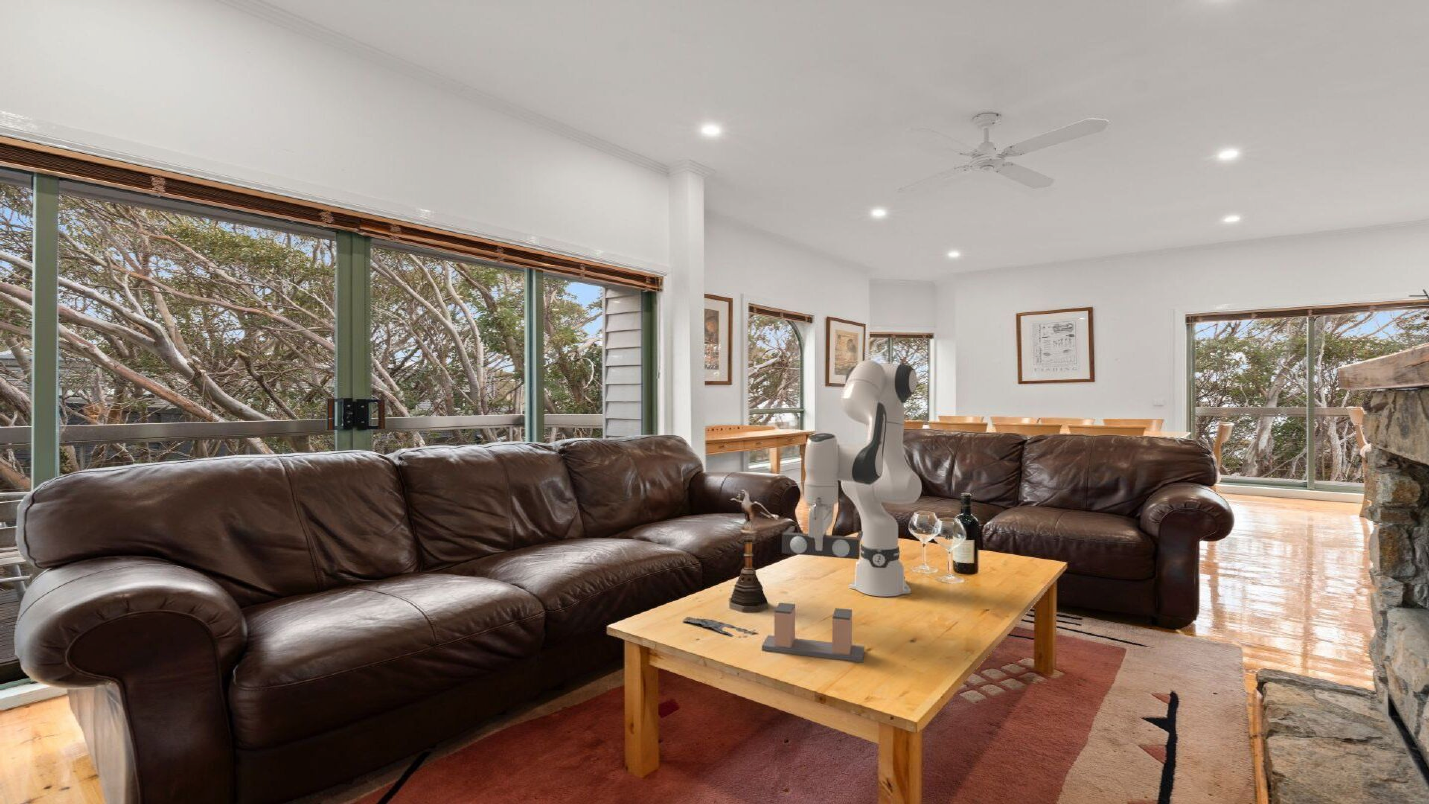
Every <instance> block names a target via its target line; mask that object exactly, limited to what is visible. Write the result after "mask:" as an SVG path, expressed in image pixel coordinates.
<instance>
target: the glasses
mask: <svg viewBox="0 0 1429 804" xmlns="http://www.w3.org/2000/svg"><path fill="white" fill-rule="evenodd" d="M794 531H795V525H791V526H789V528H788V529H787V530H786V531H783V532H782V534H781V554H789V555H790V554H791V555H800V556H802V555H803V556H815V557H826V558H836V559H837V558H840V559H850V560H859V559H860V558H861V552H860V548H861V542H862V536H863V531H862V530H858V533H857V535H856V537H855V536H846V535H845V536H844V535H832V534H826V535H824V536H823V549H822V551H817V550H816V549H815V539H814V538H812V537H809V535H808V533H805V532H803V533H801V532H794Z"/></svg>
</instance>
